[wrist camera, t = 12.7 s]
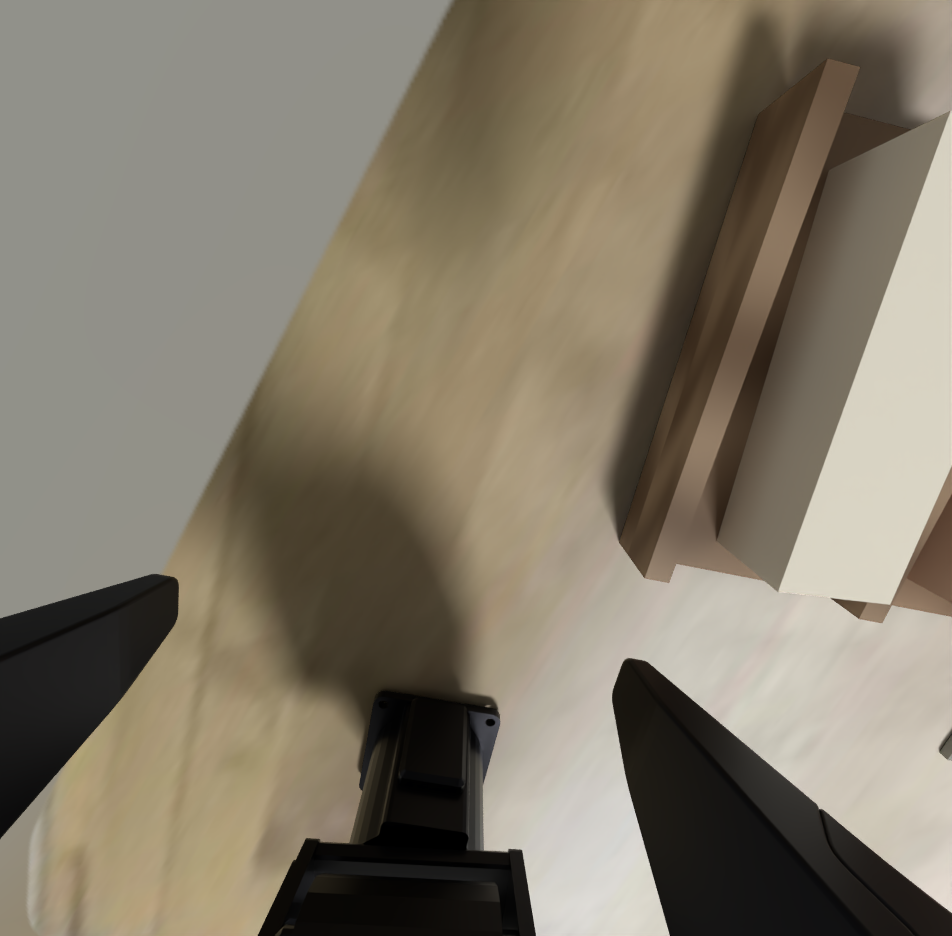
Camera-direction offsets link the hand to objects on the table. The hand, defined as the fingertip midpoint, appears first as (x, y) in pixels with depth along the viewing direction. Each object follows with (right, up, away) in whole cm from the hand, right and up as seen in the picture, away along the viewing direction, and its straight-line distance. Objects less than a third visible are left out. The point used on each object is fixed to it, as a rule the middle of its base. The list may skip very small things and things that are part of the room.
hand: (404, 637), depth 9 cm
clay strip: (+15, +7, +8) cm, 18 cm away
